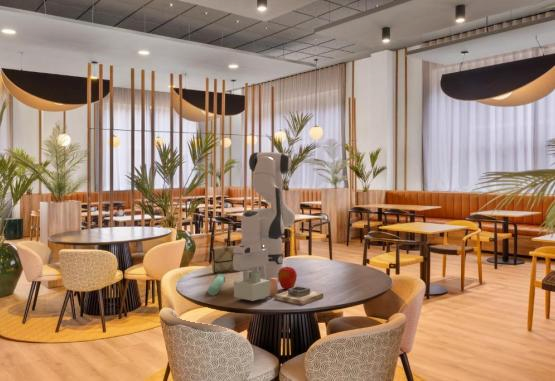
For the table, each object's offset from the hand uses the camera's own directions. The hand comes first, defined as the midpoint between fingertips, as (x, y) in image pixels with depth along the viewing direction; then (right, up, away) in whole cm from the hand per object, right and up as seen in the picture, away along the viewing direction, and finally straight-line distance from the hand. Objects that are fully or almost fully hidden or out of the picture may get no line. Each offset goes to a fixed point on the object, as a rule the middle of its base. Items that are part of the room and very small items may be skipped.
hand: (251, 277), depth 215 cm
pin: (+10, -10, +9) cm, 17 cm away
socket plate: (+22, -10, +3) cm, 24 cm away
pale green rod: (-19, -11, +22) cm, 31 cm away
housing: (0, -9, 0) cm, 9 cm away
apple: (+17, -10, +20) cm, 28 cm away
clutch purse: (-14, -9, +67) cm, 69 cm away
